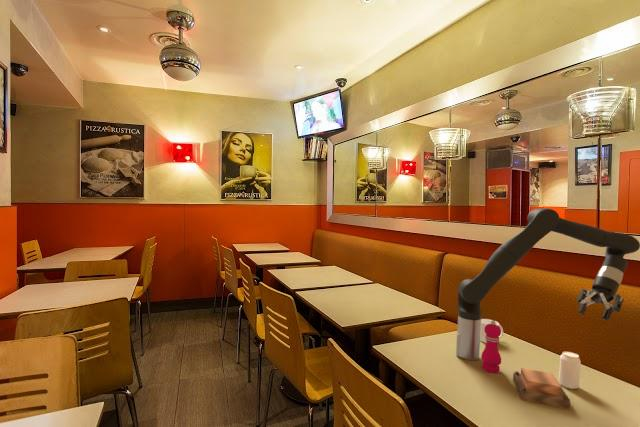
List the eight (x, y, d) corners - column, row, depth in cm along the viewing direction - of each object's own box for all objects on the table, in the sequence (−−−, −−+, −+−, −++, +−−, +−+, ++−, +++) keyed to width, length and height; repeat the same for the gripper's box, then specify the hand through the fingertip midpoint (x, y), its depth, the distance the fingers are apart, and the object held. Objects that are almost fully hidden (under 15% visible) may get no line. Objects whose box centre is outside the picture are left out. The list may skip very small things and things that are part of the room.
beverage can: (557, 385, 128) (559, 353, 127) (559, 379, 132) (561, 349, 132) (577, 392, 123) (580, 359, 123) (580, 386, 128) (582, 354, 127)
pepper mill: (499, 367, 141) (501, 319, 140) (502, 375, 134) (505, 324, 133) (479, 364, 143) (482, 316, 142) (481, 371, 136) (484, 321, 136)
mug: (480, 343, 165) (481, 324, 165) (475, 336, 174) (475, 318, 174) (507, 345, 164) (508, 326, 163) (500, 338, 173) (501, 320, 172)
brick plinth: (520, 399, 117) (521, 382, 117) (513, 380, 130) (513, 364, 130) (569, 409, 112) (570, 391, 112) (556, 388, 126) (557, 372, 125)
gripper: (583, 273, 141) (567, 307, 138) (622, 277, 127) (606, 316, 124) (594, 282, 142) (579, 316, 139) (634, 288, 129) (618, 326, 126)
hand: (592, 316), depth 132 cm, fingers open, 8 cm apart
